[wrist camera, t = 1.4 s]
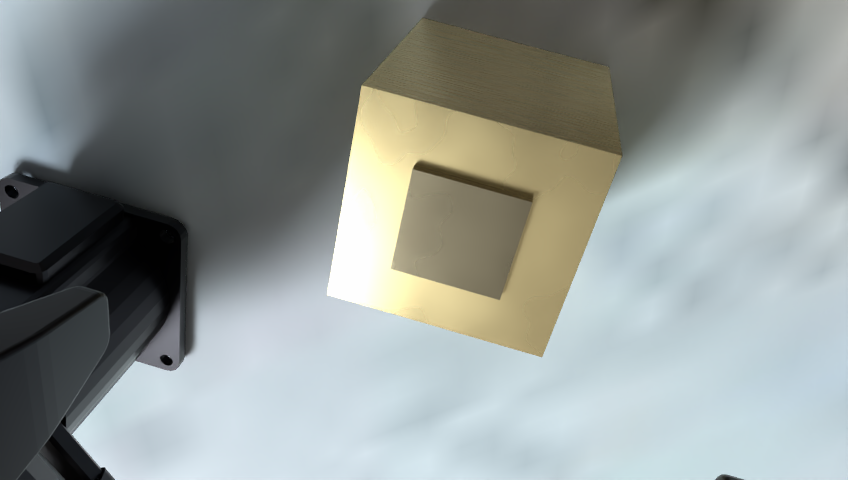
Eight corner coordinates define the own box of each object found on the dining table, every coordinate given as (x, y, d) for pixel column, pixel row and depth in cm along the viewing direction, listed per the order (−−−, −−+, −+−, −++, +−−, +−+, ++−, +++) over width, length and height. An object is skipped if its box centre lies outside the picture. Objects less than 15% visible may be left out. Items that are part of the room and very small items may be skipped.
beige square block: (550, 228, 20) (541, 363, 15) (389, 183, 20) (324, 299, 15) (609, 66, 18) (622, 159, 12) (422, 17, 18) (359, 88, 13)
